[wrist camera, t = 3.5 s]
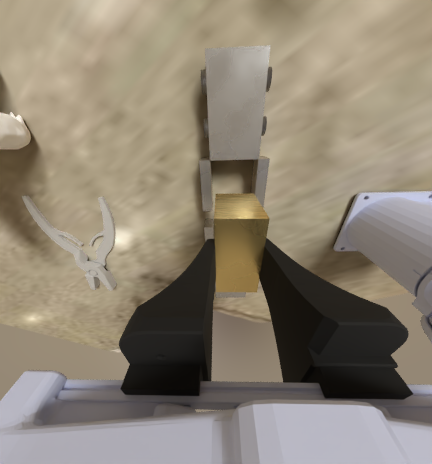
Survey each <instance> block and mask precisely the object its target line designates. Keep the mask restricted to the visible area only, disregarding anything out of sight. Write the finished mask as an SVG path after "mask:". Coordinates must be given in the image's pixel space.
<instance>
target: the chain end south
mask: <svg viewBox="0 0 432 464" xmlns="http://www.w3.org/2000/svg"><path fill="white" fill-rule="evenodd" d="M269 54H270V46H249V47H228V48H207V49H205V59H206V70H201V84H202V93H203V94H207V105H208V118H206V119H204V135H205V138H208V137H209V151H210V158H201V159H200V160H199V166H200V179H201V192H202V205H203V211H212V208H213V195H212V170H211V161H215V160H249V159H254V161H253V173H252V185H251V193H254V194H255V196H256V198H257V199H258V201H259V202H260V204H261V206H262V207H263V206H264V198H265V190H266V183H267V175H268V167H269V160H270V159H269V158H267V157H265V156H259V154H260V144H261V136H264V134H265V131H266V124H267V119H266V116H263V114H264V104H265V94H266V92H268V91H269V88H270V84H271V79H272V67H268V64H269Z"/></svg>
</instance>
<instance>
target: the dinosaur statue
mask: <svg viewBox="0 0 432 464" xmlns="http://www.w3.org/2000/svg"><path fill="white" fill-rule="evenodd" d="M30 140H31V135H30V132H29V130H28V129H27V127H26V125H25V123H24V121H23V119H22V117H21V116H20V115H18V116H17V117H16V116H15V115H14V114H13V113H12V112H10V115H8V114H5V113H0V149H20V148H23V147H24V146H26V145H28V144H29V143H30Z"/></svg>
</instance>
